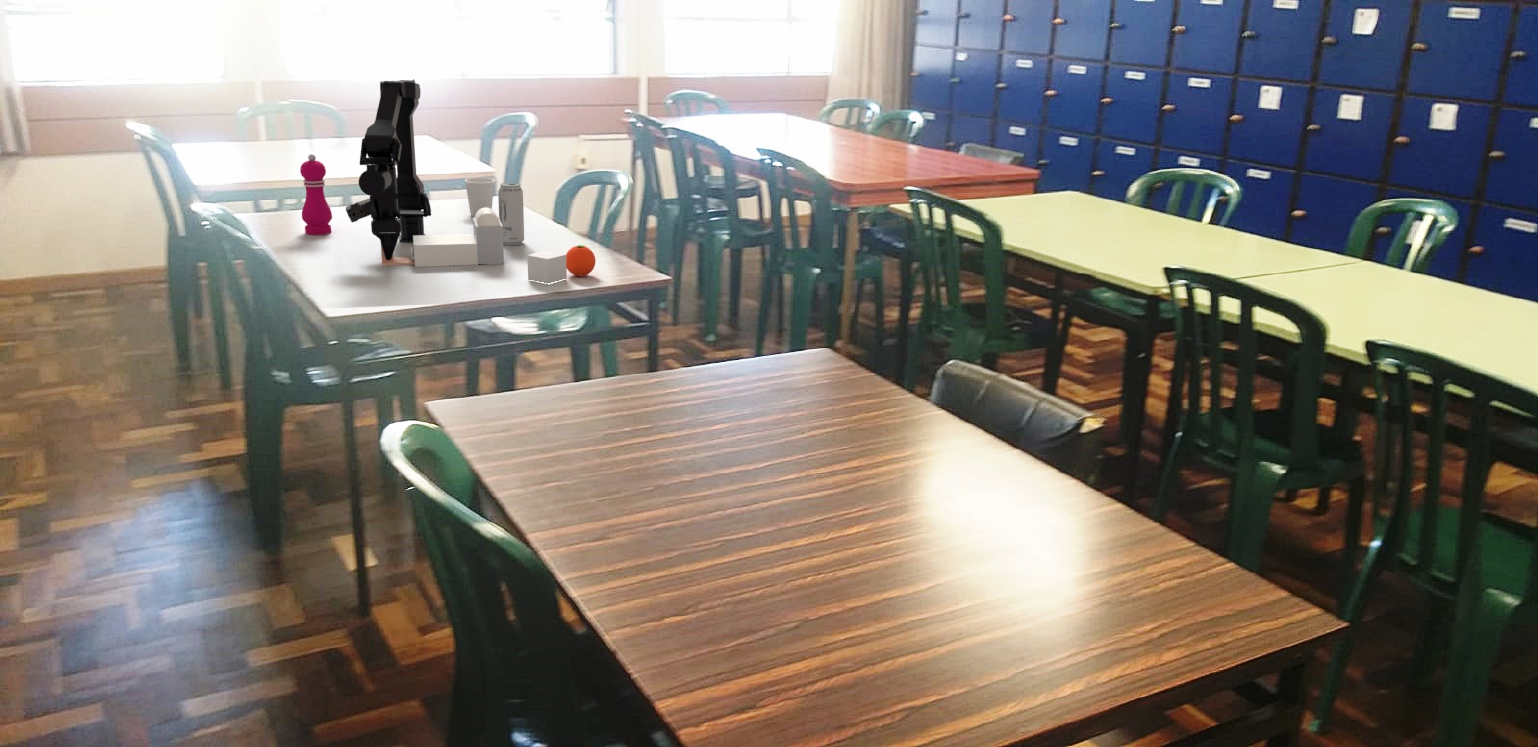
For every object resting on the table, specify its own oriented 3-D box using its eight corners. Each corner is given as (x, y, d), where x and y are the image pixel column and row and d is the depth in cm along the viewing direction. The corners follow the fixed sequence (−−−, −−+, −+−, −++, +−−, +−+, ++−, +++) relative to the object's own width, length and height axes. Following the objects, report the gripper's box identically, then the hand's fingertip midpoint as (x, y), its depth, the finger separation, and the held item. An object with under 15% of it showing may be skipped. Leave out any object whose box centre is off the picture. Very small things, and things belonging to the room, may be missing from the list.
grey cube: (548, 285, 253) (547, 259, 251) (528, 281, 256) (527, 255, 254) (566, 280, 258) (566, 254, 256) (547, 276, 261) (546, 250, 259)
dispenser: (410, 256, 274) (407, 208, 271) (500, 253, 280) (498, 206, 277) (411, 266, 264) (408, 217, 261) (504, 264, 271) (502, 215, 267)
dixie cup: (492, 218, 322) (490, 182, 319) (462, 217, 322) (460, 181, 319) (499, 213, 330) (498, 178, 327) (470, 211, 330) (468, 176, 327)
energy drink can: (495, 243, 292) (493, 183, 287) (515, 240, 296) (513, 181, 291) (509, 247, 288) (507, 187, 283) (529, 244, 292) (527, 185, 287)
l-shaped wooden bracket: (382, 261, 270) (381, 240, 269) (444, 259, 274) (443, 238, 273) (382, 266, 265) (380, 245, 263) (445, 264, 269) (444, 243, 267)
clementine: (569, 270, 267) (568, 240, 265) (598, 272, 267) (598, 241, 265) (562, 278, 259) (561, 247, 257) (592, 280, 259) (592, 249, 257)
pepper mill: (296, 233, 293) (289, 154, 287) (317, 229, 300) (310, 151, 294) (319, 236, 291) (312, 157, 285) (339, 232, 297) (333, 153, 291)
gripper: (347, 182, 269) (352, 248, 274) (344, 196, 252) (350, 265, 257) (397, 181, 272) (401, 246, 277) (398, 195, 255) (402, 264, 260)
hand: (388, 255), depth 267 cm, fingers open, 9 cm apart
